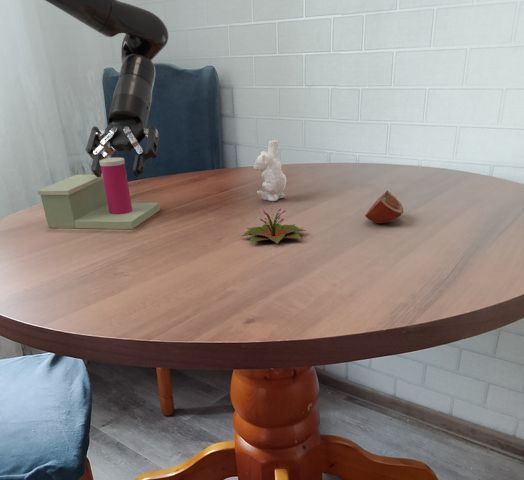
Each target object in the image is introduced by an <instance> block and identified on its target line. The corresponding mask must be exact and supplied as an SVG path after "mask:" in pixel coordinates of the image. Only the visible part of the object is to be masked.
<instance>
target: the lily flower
mask: <svg viewBox="0 0 524 480" xmlns="http://www.w3.org/2000/svg"><path fill="white" fill-rule="evenodd" d="M270 209H271V211H273V209H272V208H270ZM281 210H282V208H279V209H278V211H277V212H276V215H275V217H274V214H275V213H272V217H271V216H270V215H269V213H268V212H266V211H265V209H262V213H263V214H264V215H266V217H264V219H262V218H260V219H259V220H260V222H263V223H264V224H263V225H262V226H254V227H253V226H252V227H246V229H247V231H246V232H244V234H242V235H241V237H245V236H251V235H254V236H251V237H250V239H249V243H255V242H259V241H267V240H271V241H272V242H274V243H275V244H277V245H278V244H279V243H280V241H281V240H283V239H301V240H302V239H303V238H302V236H301V235H300V234H299V233H298V232H307V230H306V229H303V228H300V227H298V226H296V223H295V224H281V223H282V222H284V220H285V218H282V219H280V218H281V215H282V214H284V213H286V210H283V211H282V212H280V211H281ZM272 219H273V220H272ZM296 232H297V233H296Z"/></svg>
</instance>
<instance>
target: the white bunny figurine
mask: <svg viewBox="0 0 524 480" xmlns="http://www.w3.org/2000/svg"><path fill="white" fill-rule="evenodd" d="M279 143H280V142H279V141H278V139H274V140H273V139H272V140H269V141H268V145H267V151H266V150H261V152H260V155H258V156H257V157H256V159H255V161H254V162H255V163H253V169H254V170H256V171H259V172H260V171H262V172H261V174H260V175H261V178H262V179H263V182H262V184H261V187H262V190H260V189H259V190H257V191H256V194H257V195H258V196H259V197H260V198H261V200H263V201H268V202H278V200H279V199H282V198H283V199H284V198H287V195H286V194H285V193H283V192H284V190H285V188H286V185H287V176H286V175H285V174H284V172H283V171H282V168H283V167H282V166H283V163H282V161H281V159H280V158H279Z"/></svg>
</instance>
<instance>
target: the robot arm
mask: <svg viewBox="0 0 524 480" xmlns="http://www.w3.org/2000/svg"><path fill="white" fill-rule="evenodd" d="M44 1H45V2H47V3H48V4H50V5H52V6H54V7H56V8H58V10H60V11H62V12H64V13H66V14H67V15H69V16H70V17H72V18H74V19H76V20H78V21H79V22H80V23H82V24H84V25H85V26H87V27H89V28H91V29H92V30H94V31H95V32H97V33H99V34H101V35H102V36H104V37H108V38H113V37H115V36H117V35H119V34H124V36H123V39H122V41H121V47H120V48H121V50H120V52H121V53H120V54H121V55H120V56H121V57H120V58H121V67H120V70H119V76H118V79H117V82H116V84H115V86H114V87H115V88H114V91H113V96H112V99H111V104H110V107H109V108H110V109H109V113H108V124H107V126H106V128H105V129H100V128H99V127H97V126H93V127H91V131H90V133H89V137H88V140H87V144H86V147H85V152H86V153H87V154H88V155H89V157H90V158H91V159H92V163H91V166H90V170H91V172H92V174H93V175H95V176H96V177H101V175H102V171H101V165H100V162H99V161H100V160H102V159H107V158H109V156H112V155H114V154H115V153H116V152H123V151H127V152H131V151H132V150H135V151H136V153H137V154H135V156H134V160H133V166H132V173H133V175H134V176H135V177H136V178H141V175H143V173H144V171H145V166H146V162H147V161H148V159H156V158H157V155H158V148H159V139H160V133H159V131H158V129H157V127H156V126H155V125H154V124H151V125H149V127H148V128H147V125H148V121H149V116H150V112H151V107H152V101H153V91H154V86H155V80H156V66H155V64H154V63H153V59H155V57H156V56H158V54H159V53H160V52H161V51H162V50H164V48H165V47H166V46H167V44H168V42H169V37H170V36H169V31H168V28H167V25H166V24H165V23H164V21H163V20H162V19H161V18H160V17H159V16H158V15H156V14H155V13H153V12H151V11H150V10H147V9H145V8H141V7H139V6H135V5H133V4H130V3H127V2H123V1H121V0H44ZM145 138H147V139H146V145H145V146H146V147H145V148H142V146H141V144H140V143H141V142H142V141H143V140H145ZM109 144H110V147H109Z"/></svg>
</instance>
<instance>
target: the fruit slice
mask: <svg viewBox="0 0 524 480" xmlns="http://www.w3.org/2000/svg"><path fill="white" fill-rule="evenodd" d="M403 214H404V207H403V204H402V203H401V202H400V201H399V200H398V199H397V198H396V196H394V195H393V194H392V193H391V192H390V191H389V190H388V189H387V190H386V191H384V193H383V194H382V195H380V196H379V197H378V198H377V199H376V200H375V202H374V203H373V204H372V205H371V207H370V208H369V209H368V211H367V212H366V213H365V215H364V216H365V218H367V220H368V221H370V222H372V223H374V224H386V223H389V222H393V221H394V220H396V219H397V218H400V217H401V216H402V215H403Z"/></svg>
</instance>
